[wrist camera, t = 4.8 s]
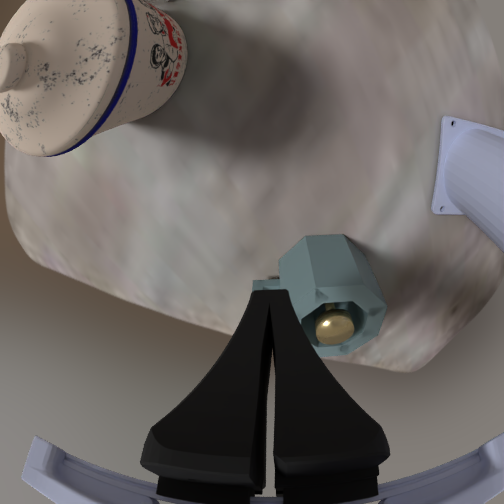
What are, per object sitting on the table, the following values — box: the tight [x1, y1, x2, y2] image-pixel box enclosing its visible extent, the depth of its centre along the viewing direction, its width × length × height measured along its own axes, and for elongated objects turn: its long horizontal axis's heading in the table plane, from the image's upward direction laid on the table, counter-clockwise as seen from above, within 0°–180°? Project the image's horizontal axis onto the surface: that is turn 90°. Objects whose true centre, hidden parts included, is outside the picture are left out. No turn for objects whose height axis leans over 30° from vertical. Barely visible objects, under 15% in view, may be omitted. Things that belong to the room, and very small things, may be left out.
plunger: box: [315, 302, 354, 345], centre depth 20 cm, size 4×4×5 cm
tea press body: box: [252, 234, 387, 357], centre depth 20 cm, size 9×7×6 cm
